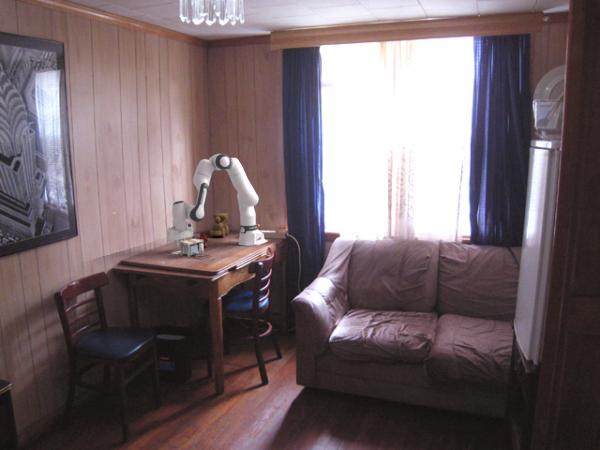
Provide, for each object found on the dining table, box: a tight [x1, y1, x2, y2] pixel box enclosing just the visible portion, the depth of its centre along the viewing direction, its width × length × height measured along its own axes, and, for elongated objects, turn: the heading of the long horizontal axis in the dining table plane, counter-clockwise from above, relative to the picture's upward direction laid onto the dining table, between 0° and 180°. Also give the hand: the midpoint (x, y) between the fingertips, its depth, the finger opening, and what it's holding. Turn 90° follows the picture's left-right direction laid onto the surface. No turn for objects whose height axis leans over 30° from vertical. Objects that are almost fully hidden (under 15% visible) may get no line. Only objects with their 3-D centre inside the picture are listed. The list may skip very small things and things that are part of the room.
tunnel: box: [179, 238, 205, 259], centre depth 328 cm, size 13×8×10 cm, turn 144°
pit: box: [194, 253, 213, 260], centre depth 323 cm, size 10×6×1 cm, turn 144°
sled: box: [178, 239, 204, 256], centre depth 329 cm, size 6×23×8 cm, turn 54°
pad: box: [171, 250, 184, 255], centre depth 336 cm, size 10×6×1 cm, turn 144°
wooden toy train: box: [209, 212, 230, 238], centre depth 390 cm, size 20×11×17 cm, turn 174°
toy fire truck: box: [192, 231, 209, 248], centre depth 350 cm, size 7×12×10 cm, turn 68°
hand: (180, 245), depth 334 cm, fingers closed on sled, 3 cm apart
